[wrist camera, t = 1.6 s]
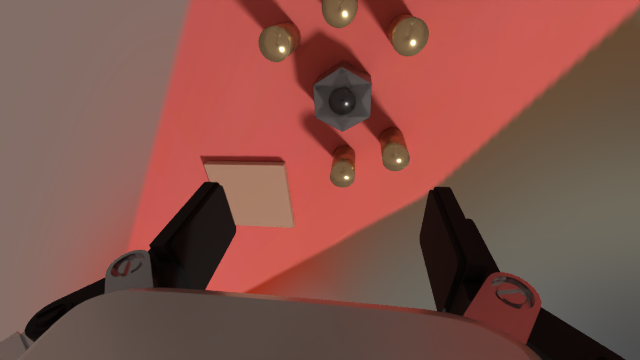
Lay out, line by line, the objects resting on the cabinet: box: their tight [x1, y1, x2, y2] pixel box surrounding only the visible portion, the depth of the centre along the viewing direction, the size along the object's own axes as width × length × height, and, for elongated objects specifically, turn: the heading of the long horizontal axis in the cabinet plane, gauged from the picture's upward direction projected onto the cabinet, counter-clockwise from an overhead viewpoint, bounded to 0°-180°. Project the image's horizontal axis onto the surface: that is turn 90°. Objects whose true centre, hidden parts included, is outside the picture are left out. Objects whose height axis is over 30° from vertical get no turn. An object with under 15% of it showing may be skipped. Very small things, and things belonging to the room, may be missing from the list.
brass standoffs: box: [259, 0, 429, 187], centre depth 24 cm, size 16×12×4 cm
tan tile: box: [204, 161, 295, 228], centre depth 34 cm, size 10×10×1 cm
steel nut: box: [313, 60, 372, 132], centre depth 24 cm, size 6×5×3 cm
